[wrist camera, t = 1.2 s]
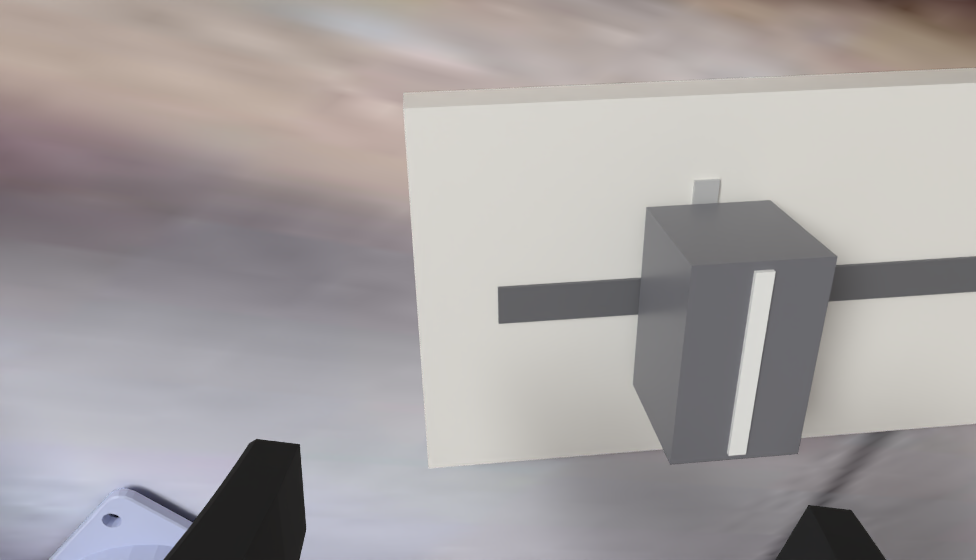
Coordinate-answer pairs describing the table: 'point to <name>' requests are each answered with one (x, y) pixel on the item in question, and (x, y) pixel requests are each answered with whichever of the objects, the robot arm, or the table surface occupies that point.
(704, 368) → the fader knob
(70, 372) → the table surface
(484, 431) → the fader console
